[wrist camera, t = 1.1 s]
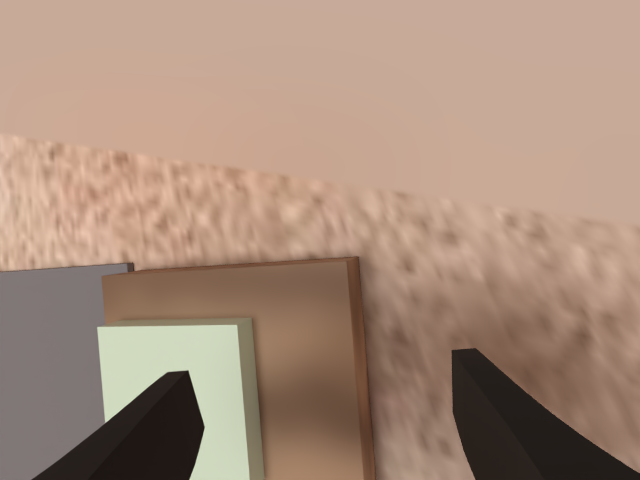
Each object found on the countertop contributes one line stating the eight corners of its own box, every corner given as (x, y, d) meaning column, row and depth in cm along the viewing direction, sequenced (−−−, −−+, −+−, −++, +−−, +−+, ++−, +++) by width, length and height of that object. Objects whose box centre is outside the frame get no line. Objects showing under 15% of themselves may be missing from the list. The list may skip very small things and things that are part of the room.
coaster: (264, 478, 19) (251, 498, 18) (131, 464, 21) (109, 481, 20) (251, 317, 19) (237, 325, 18) (119, 320, 21) (97, 326, 20)
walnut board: (380, 535, 21) (372, 585, 18) (159, 505, 25) (123, 542, 22) (358, 256, 21) (346, 261, 18) (140, 270, 25) (101, 276, 22)
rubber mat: (153, 512, 25) (148, 518, 24) (-6, 489, 29) (-13, 494, 28) (132, 262, 25) (126, 263, 24) (-25, 273, 29) (-33, 274, 28)
